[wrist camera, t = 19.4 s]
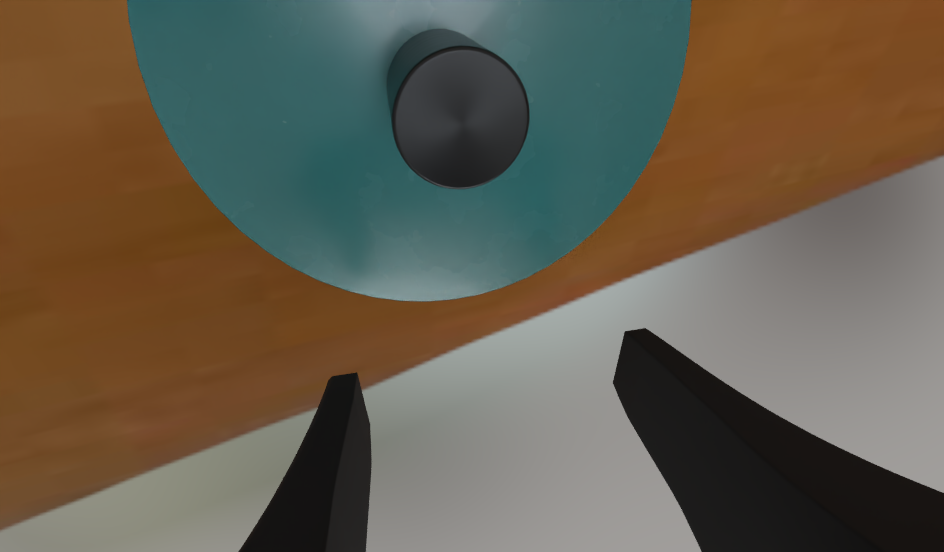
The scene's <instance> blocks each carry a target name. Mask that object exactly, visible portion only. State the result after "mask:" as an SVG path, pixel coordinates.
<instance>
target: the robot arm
mask: <svg viewBox="0 0 944 552" xmlns="http://www.w3.org/2000/svg"><path fill="white" fill-rule="evenodd" d="M613 384H614V387H615V389H616V391H617V394H618V396H619V399H620V401H621V403H622V405H623V408H624V410H625V412H626V414H627V416H628V418H629V420H630V422H631V424H632V425H633V427H634V429H635V430H636V432H637V434H638V436H639V437H640V439H641V441H642V442H643V444H644V446H645V447H646V449H647V451H648V452H649V454H650V456H651V457H652V459H653V461H654V462H655V464H656V466H657V467H658V469H659V471H660V472H661V474H662V476H663V477H664V479H665V481H666V482H667V484H668V486H669V487H670V489H671V491H672V492H673V494H674V496H675V498H676V500H677V501H678V503H679V505H680V507H681V509H682V511H683V513H684V515H685V517H686V519H687V521H688V523H689V526H690V528H691V530H692V532H693V534H694V536H695V538H696V540H697V542H698V544H699V546H700V549H701V551H702V552H944V493H942V492H939V491H937V490H935V489H932V488H930V487H927V486H925V485H922V484H920V483H917V482H915V481H913V480H910V479H907V478H905V477H903V476H900V475H898V474H896V473H893V472H891V471H889V470H886V469H884V468H882V467H880V466H877V465H875V464H873V463H871V462H868V461H866V460H864V459H862V458H860V457H858V456H856V455H853V454H851V453H849V452H847V451H845V450H843V449H841V448H838V447H837V446H834V445H832V444H830V443H828V442H826V441H824V440H822V439H820V438H818V437H816V436H815V435H812V434H811V433H809V432H807V431H805V430H803V429H801V428H800V427H798V426H796V425H794V424H792V423H790V422H788V421H787V420H785V419H783V418H781V417H779V416H778V415H776V414H774V413H773V412H771V411H769V410H767V409H766V408H764V407H762V406H761V405H759V404H757V403H756V402H754V401H752V400H751V399H749V398H748V397H746V396H745V395H743V394H741V393H740V392H738V391H737V390H735V389H733V388H732V387H730V386H729V385H727V384H725V383H724V382H723V381H721V380H720V379H718V378H717V377H715V376H714V375H712V374H711V373H709V372H708V371H706V370H705V369H703V368H702V367H701V366H699V365H698V364H696V363H695V362H693V361H692V360H691V359H689V358H688V357H686V356H685V355H683V354H682V353H681V352H679V351H678V350H676V349H675V348H674V347H672V346H671V345H669V344H668V343H666V342H665V341H664V340H662V339H660V338H659V337H658V336H656V335H655V334H653V333H652V332H650V331H649V330H647V329H646V328H644V329H638V330H631V331H625V333H624V337H623V342H622V346H621V350H620V355H619V359H618V363H617V367H616V372H615V376H614V380H613ZM370 480H371V438H370V423H369V418H368V415H367V411H366V407H365V403H364V398H363V394H362V390H361V386H360V382H359V378H358V374H357V373H351V374H345V375H338V376H332V377H331V378H330V379H329V380H328V383H327V386H326V389H325V392H324V394H323V397H322V399H321V402H320V404H319V407H318V409H317V411H316V414H315V416H314V418H313V421H312V423H311V425H310V427H309V429H308V431H307V433H306V436H305V437H304V440H303V442H302V444H301V446H300V448H299V450H298V452H297V454H296V456H295V458H294V460H293V462H292V464H291V465H290V467H289V469H288V471H287V473H286V475H285V477H284V478H283V480H282V482H281V484H280V486H279V487H278V489H277V491H276V493H275V495H274V496H273V498H272V500H271V501H270V503H269V505H268V506H267V508H266V510H265V511H264V513H263V515H262V516H261V518H260V519H259V521H258V523H257V524H256V526H255V527H254V529H253V531H252V532H251V534H250V535H249V537H248V538H247V540H246V542H245V543H244V545H243V546H242V547H241V549H240V550H239V552H366V538H367V523H368V509H369V495H370Z"/></svg>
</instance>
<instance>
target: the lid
mask: <svg viewBox="0 0 944 552" xmlns="http://www.w3.org/2000/svg"><path fill="white" fill-rule="evenodd" d="M691 1H692V0H127V4H128V16H129V23H130V28H131V32H132V37H133V42H134V46H135V51H136V56H137V60H138V65H139V68H140V71H141V74H142V77H143V80H144V83H145V85H146V88H147V91H148V94H149V97H150V100H151V103H152V106H153V108H154V110H155V112H156V114H157V116H158V118H159V120H160V122H161V124H162V127H163V129H164V131H165V133H166V135H167V137H168V139H169V141H170V143H171V145H172V146H173V148H174V150H175V151H176V153H177V154H178V156H179V157H180V159H181V161H182V162H183V164H184V165H185V167H186V168H187V170H188V171H189V173H190V175H191V176H192V178H193V179H194V180H195V181H196V183H197V184H198V185H199V186H200V188H201V189H202V190H203V191H204V192H205V194H206V195H207V196H208V197H209V199H210V200H211V201H212V202H213V204H214V205H215V206H216V207H217V208H218V209H219V210H220V211H221V212H222V213H223V214H224V215H225V216H226V217H227V218H228V219H229V220H230V221H231V222H232V223H233V224H234V225H235V226H236V227H237V228H238V229H239V230H240V231H241V232H243V233H244V234H245V235H247V236H248V237H249V238H250V239H252V240H253V241H254V242H255V243H257V244H258V245H259V246H260V247H262V248H263V249H264V250H266V251H267V252H268V253H270V254H272V255H273V256H275V257H276V258H278V259H280V260H281V261H283V262H284V263H286V264H288V265H289V266H291V267H292V268H294V269H296V270H298V271H300V272H302V273H305V274H307V275H309V276H311V277H313V278H315V279H317V280H319V281H321V282H324V283H327V284H330V285H332V286H335V287H338V288H341V289H344V290H346V291H350V292H354V293H358V294H363V295H367V296H371V297H376V298H383V299H391V300H398V301H440V300H452V299H458V298H463V297H469V296H474V295H479V294H482V293H486V292H489V291H493V290H496V289H499V288H503V287H505V286H508V285H510V284H512V283H515V282H517V281H520V280H522V279H525V278H527V277H529V276H531V275H532V274H534V273H536V272H538V271H540V270H542V269H544V268H546V267H547V266H549V265H551V264H552V263H554V262H555V261H557V260H558V259H560V258H561V257H563V256H564V255H566V254H567V253H569V252H570V251H571V250H573V249H574V248H575V247H576V246H578V245H579V244H580V243H581V242H582V241H584V240H585V239H586V238H587V237H588V236H590V235H591V234H592V233H593V232H594V231H595V230H596V229H597V228H598V227H599V226H600V225H601V224H602V223H603V222H604V221H605V220H606V219H607V218H608V217H609V216H610V215H611V214H612V212H613V211H614V210H615V209H616V208H617V206H618V205H619V204H620V203H621V201H622V200H623V199H624V198H625V196H626V195H627V194H628V193H629V191H630V190H631V188H632V187H633V185H634V184H635V182H636V181H637V179H638V178H639V176H640V175H641V173H642V172H643V170H644V169H645V167H646V165H647V163H648V162H649V160H650V158H651V156H652V154H653V152H654V150H655V148H656V146H657V144H658V142H659V140H660V139H661V136H662V134H663V131H664V129H665V126H666V124H667V121H668V119H669V116H670V114H671V111H672V109H673V105H674V102H675V99H676V95H677V92H678V88H679V85H680V81H681V78H682V74H683V68H684V63H685V57H686V52H687V46H688V40H689V29H690V15H691Z"/></svg>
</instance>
